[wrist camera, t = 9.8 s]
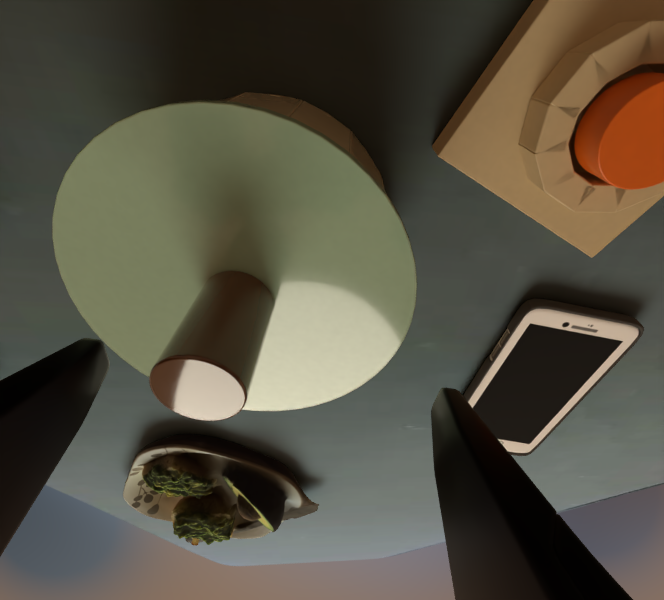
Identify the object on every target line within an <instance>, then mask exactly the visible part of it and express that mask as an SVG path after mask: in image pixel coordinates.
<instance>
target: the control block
mask: <svg viewBox="0 0 664 600" xmlns="http://www.w3.org/2000/svg"><path fill="white" fill-rule="evenodd" d="M648 72H654V73H664V0H533V1H532V3H531V4H530V6H529V7H528V9H527V10H526V11H525V13H524V14H523V16H522V17H521V19H520V20H519V21H518V23H517V24H516V26H515V27H514V29H513V30H512V32H511V33H510V34H509V36H508V37H507V39H506V40H505V42H504V43H503V45H502V46H501V47H500V49H499V50H498V52H497V53H496V55H495V56H494V58H493V59H492V60H491V62H490V63H489V65H488V66H487V68H486V69H485V70H484V72H483V73H482V75H481V76H480V78H479V79H478V81H477V82H476V83H475V85H474V86H473V88H472V89H471V91H470V92H469V94H468V95H467V96H466V98H465V99H464V101H463V102H462V104H461V105H460V106H459V108H458V109H457V111H456V112H455V114H454V115H453V117H452V118H451V119H450V121H449V122H448V124H447V125H446V127H445V128H444V130H443V131H442V132H441V134H440V135H439V137H438V138H437V140H436V141H435V143H434V144H433V145H432V148H433V150H434V151H435V152H436V154H437V155H438V157H440V158H441V159H443V160H444V161H446V162H448V163H449V164H451V165H452V166H454V167H455V168H457V169H458V170H460V171H461V172H463V173H464V174H466V175H467V176H469V177H470V178H472V179H473V180H475V181H476V182H478V183H479V184H481V185H482V186H484V187H485V188H487V189H488V190H490V191H491V192H493V193H494V194H496V195H497V196H499V197H501V198H502V199H504V200H505V201H507V202H508V203H510V204H511V205H513V206H514V207H516V208H517V209H519V210H520V211H522V212H523V213H525V214H526V215H528V216H529V217H531V218H532V219H534V220H535V221H537V222H538V223H540V224H541V225H543V226H544V227H546V228H547V229H549V230H551V231H552V232H554V233H555V234H557V235H558V236H560V237H561V238H563V239H564V240H566V241H567V242H569V243H570V244H572V245H573V246H575V247H576V248H578V249H579V250H581V251H582V252H584V253H585V254H587V255H588V256H590V257H594V256H595V255H596V254H597V253H598V252H599V251H601V250H602V249H603V248H604V247H605V246H606V245H607V244H609V243H610V242H611V241H612V240H613V239H614V238H616V237H617V236H618V235H619V234H620V233H621V232H622V231H624V230H625V229H626V228H627V227H628V226H629V225H631V224H632V223H633V222H634V221H635V220H636V219H637V218H639V217H640V216H641V215H642V214H643V213H644V212H646V211H647V210H648V209H649V208H650V207H651V206H652V205H654V204H655V203H656V202H657V201H658V200H659V199H661V198H662V197H663V196H664V182H662V183H659V184H657V185H654V186H651V187H647V188H643V189H634V190H628V189H621V188H617V187H615V186H612V185H611V184H609V183H607V182H605V181H604V180H602V179H600V178H598V177H596V176H595V175H593V174H591V173H589V172H588V171H586V170H585V169H584V168H582V166H581V165H580V164H579V162H578V160H577V158H576V155H575V149H574V142H575V135H576V132H577V128H578V126H579V123H580V121H581V119H582V117H583V115H584V114H585V112H586V111H587V109H588V108H589V107H590V105H591V104H592V103H593V102H594V101H595V100H596V99H597V98H598V97H599V96H600V95H601V94H602V93H603V92H604V91H605V90H607V89H608V88H609V87H611V86H612V85H614V84H616V83H617V82H619V81H621V80H623V79H625V78H627V77H630V76H633V75H636V74H640V73H648Z"/></svg>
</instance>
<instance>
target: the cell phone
mask: <svg viewBox="0 0 664 600" xmlns="http://www.w3.org/2000/svg"><path fill="white" fill-rule="evenodd" d="M643 331H644V327H643V326H642V325H641V324H640V323H639V322H638V321H637V320H636V319H635V318H633V317H630V316H627V315H623V314H618V313H613V312H608V311H603V310H598V309H593V308H588V307H583V306H578V305H573V304H568V303H562V302H557V301H552V300H547V299H530V300H527V301H526V302H525V303H524V304H522V305H521V306H520V308H519V309H518V311H517V312H516V314H515V315H514V317H513V318H512V320H511V321H510V323H509V324H508V326H507V330H506V331H505V333H504V334H503V336H502V338H501V339H500V341H499V342H498V344H497V345H496V347H495V349H494V350H493V352H492V353H491V355H489V356H488V357H487V358H486V360H485V362H484V363H483V365H482V366H481V368H480V370H479V371H478V373H477V374H476V376H475V377H474V379H473V381H472V382H471V384H470V385H469V387H468V389H467V390H466V392H465V393H464V395H463V397H464V398H465V399H466V400H467V402H468V403H469V404H470V405H471V407H472V408H473V409H474V410H475V412H476V413H477V414H478V415H479V416H480V418H481V419H482V420H483V421H484V423H485V424H486V425H487V426H488V428H489V429H490V430H491V431H492V433H493V434H494V435H495V436H496V437H497V439H498V440H499V441H500V442H501V444H502V445H503V446H504V447H505V449H506V450H507V451H508V452H509V454H510V455H516V456H526V455H529V454H531V453H532V452H533V451H534V450H535V449H536V448H537V447H538V446H539V445H540V444H541V443H542V442H543V441H544V440H545V439H546V438H547V437H548V436H549V435H550V434H551V433H552V432H553V430H554V429H555V428H556V427H557V426H558V425H559V424H560V423H561V422H562V421H563V420H564V419H565V418H566V417H567V416H568V415H569V414H570V412H571V411H572V410H573V409H574V408H575V407H576V406H577V405H578V404H579V403H580V402H581V401H582V400H583V399H584V398H585V397H586V395H587V394H588V393H589V392H590V391H591V390H592V389H593V388H594V387H595V386H596V385H597V384H598V383H599V382H600V381H601V380H602V379H603V377H604V376H605V375H606V374H607V373H608V372H609V371H610V370H611V369H612V368H613V367H614V366H615V365H616V364H617V363H618V362H619V361H620V359H621V358H622V357H623V356H624V355H625V354H626V353H627V352H628V351H629V350H630V349H631V348H632V347H633V346H634V345H635V343H636V342H637V341H638V339H639V338H640V337H641V336H642V334H643Z"/></svg>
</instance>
